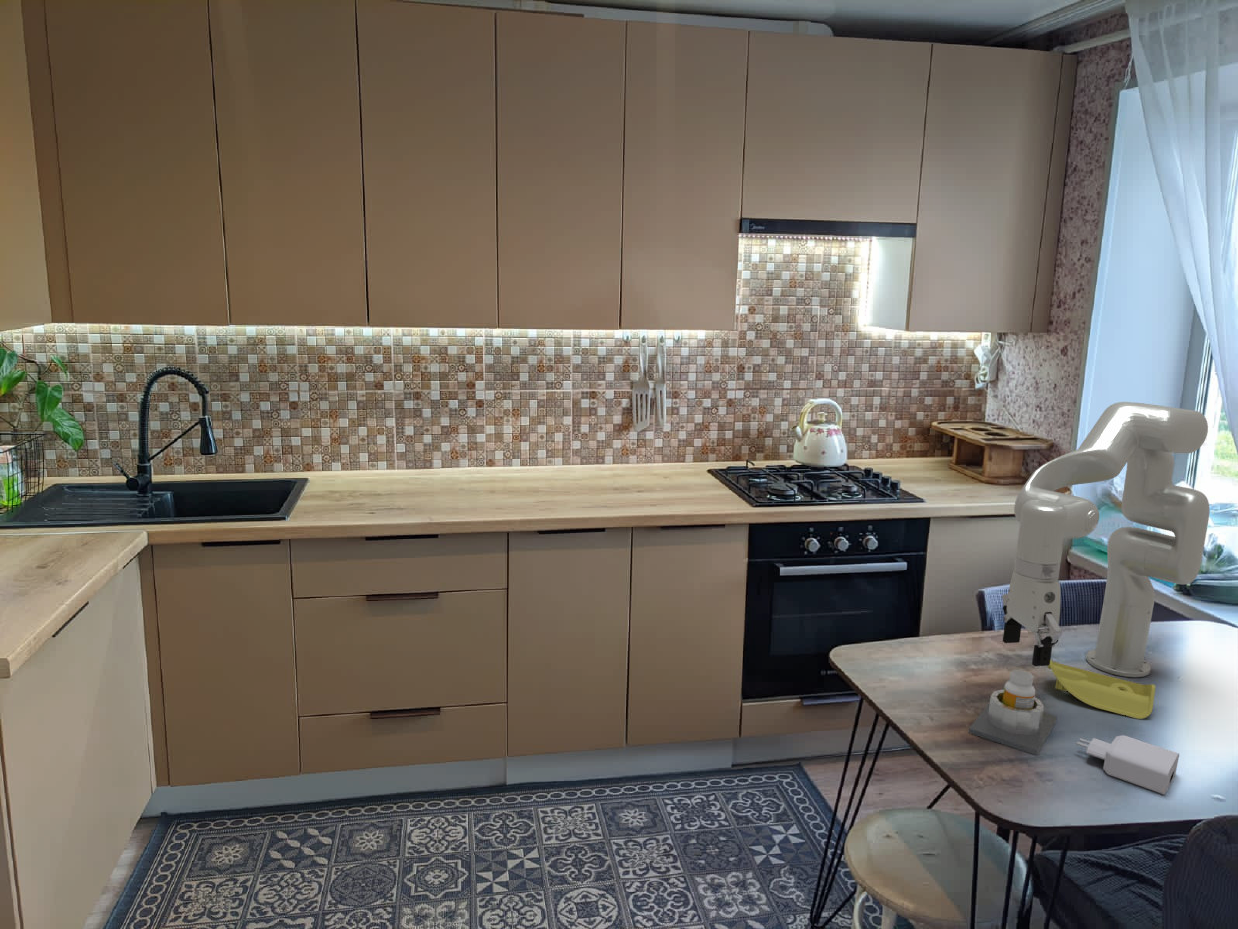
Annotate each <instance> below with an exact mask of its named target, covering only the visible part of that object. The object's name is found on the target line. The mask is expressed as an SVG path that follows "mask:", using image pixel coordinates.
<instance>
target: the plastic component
mask: <svg viewBox="0 0 1238 929" xmlns="http://www.w3.org/2000/svg"><path fill="white" fill-rule="evenodd" d="M1046 667H1047V668H1048V669H1049V670H1051V671H1052V673H1053V676H1054V677H1055V679H1056V682H1055V687H1054V688H1055V690H1059V691H1062V692H1066V691H1068V692H1067V693H1069V694H1071V695H1072V696H1073V697H1075V698H1076V699H1078V700H1079V701H1081V702H1083V703H1084V704H1086V705H1088V706H1091V707H1093V708H1096V709H1100V710H1104V711H1107V712H1111V713H1115V714H1118V715H1122V716H1125V715H1126V717H1130V718H1132V719H1133V718H1134V719H1137V720H1138V719H1139V720H1140V719H1141V720H1143V719H1146V718H1148V717H1149V716H1150V715H1151V714H1152V711H1153V708H1154V702H1155V701H1154V700H1155V695H1156V685H1155V684H1152V683H1150V684H1142V683H1137V682H1134V681H1131V680H1125V679H1121V678H1117V677H1113V676H1109V675H1107V674H1101V673H1098V672H1095V671H1090V670H1086V669H1082V668H1078V667H1074V666H1071V665H1067V664H1063V663H1060V662H1056V661H1052V659H1050V665H1048V666H1046Z"/></svg>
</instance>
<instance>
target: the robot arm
mask: <svg viewBox="0 0 1238 929" xmlns="http://www.w3.org/2000/svg"><path fill="white" fill-rule="evenodd" d="M1208 423H1209V422H1208V421H1207V418H1206V416H1205V415H1204V414H1203V413H1202V412H1200V411H1198V410H1192V409H1187V408H1186V409H1185V408H1179V407H1173V406H1171V407H1170V406H1163V405H1158V404H1153V403H1143V402H1142V403H1141V402H1130V401H1120V402H1115V403H1113V404H1112V403H1111V405H1108V406H1107V407H1106V409H1105V410H1104V411H1103V412H1102V414H1101V415H1100V417H1099V418H1098V419H1097V421H1096V422H1095V423H1094V425H1093V427H1092V428H1091V429H1090V431H1089V432H1088V434H1087V436H1086V437H1085V438H1084V440H1083V441H1082V443H1081V444H1080V446H1079V447H1078V448H1077V449H1075V450H1073V451H1071V452H1067V453H1065V454H1063V455H1060V456H1058V457H1056V458H1054V459H1052V460H1050V461H1047V462H1046V463H1044V464H1042V465H1040V466H1039V467H1038V468H1036V470H1034V471H1033V473H1032V474H1031V475H1030V476H1029V478H1028V479H1027V480H1026V482H1025V484H1024V485H1023V486H1022V488H1021V490H1020V491H1019V493H1018V495H1017V497H1016V500H1015V502H1014V507H1013V511H1014V516H1015V518H1016V520H1017V521H1018V522H1019V526H1018V527H1019V528H1018V537H1017V542H1016V543H1017V544H1016V551H1015V558H1014V567H1013V572H1012V576H1011V579H1010V582H1009V583H1010V584H1009V588H1008V593H1004V594H1002V595H1001V599H1002V605H1003V607H1002V610H1003V614H1004V616H1003V621H1004V626H1003V633H1002V634H1003V635H1002V642H1003V643H1004V644H1013V643H1015V644H1016V643H1020V640H1021V634H1022V627H1024V628H1025V629H1027V630H1028V631H1030V632H1032V633H1033V634H1034V638H1035V641H1036V644H1034V647H1033V652H1032V661H1031V664H1032V666H1034V667H1047V666H1048V665H1050V659H1051V658H1052V651H1053V648H1054V647H1055V645H1056V644H1058V643H1059V639H1060V638H1061V636H1062V634H1063V631H1062V629H1061V627H1060V625H1059V624H1060V617H1061V616H1060V615H1061V596H1062V595H1061V584H1060V583H1061V582H1060V580H1059V578H1060V571H1061V564H1062V555H1063V548H1064V541H1065V540H1071V539H1073V540H1074V539H1081V538H1084V537H1087V536H1089V535H1090V534H1091V533H1092V532H1093V531H1095V529H1096V528H1097V526H1098V525H1099V521H1100V511H1099V509H1098V506H1097V505H1096V504H1095V503H1094V502H1093V501H1092V500H1089V499H1086V498H1083V497H1081V496H1075V495H1071V494H1067V493H1062V492H1059V491H1057V490H1059V489H1062V488H1066V487H1070V486H1075V485H1077V486H1078V485H1085V484H1092V483H1100V482H1105V481H1109V480H1112V479H1114V478H1116V477H1117V476H1119V475H1120V473H1121V472H1122V470H1124V467H1125V466H1126V472H1125V479H1124V485H1123V491H1122V498H1121V499H1122V500H1121V514H1122V515H1123V517H1124V518H1125V519H1126V520H1128V521H1130V522H1133V523H1135V524H1140V525H1144V526H1147V527H1152V528H1156V529H1160V530H1163V531H1169V532H1172V533H1173V534H1174V536H1172V535H1168V534H1164V533H1161V532H1157V531H1152V530H1148V529H1145V528H1139V527H1133V526H1125V527H1124V526H1123V527H1120V528H1117V529H1115V530H1114V531H1113V532H1112V533H1111V534H1110V536H1109V538H1108V541H1107V549H1106V553H1107V573H1106V574H1107V575H1106V584H1105V590H1104V595H1103V596H1104V598H1103V604H1102V609H1101V615H1100V620H1099V627H1098V628H1099V629H1098V633H1097V639H1096V646H1095V648H1094V649H1091V650H1089V651H1088V652H1087V653H1086V656H1085V658H1086V661H1087V662H1088V663H1089V664H1090V665H1091V666H1092V667H1094V668H1096V669H1098V670H1100V671H1102V672H1106V673H1108V674H1111V675H1114V674H1115V676H1119V677H1120V676H1121V677H1125V678H1143V677H1146V676H1148V675H1149V674H1151V667H1152V666H1151V664H1150V663H1149V662H1147V661H1146V660H1145V656H1146V650H1147V644H1148V639H1149V638H1148V637H1149V632H1150V628H1151V622H1152V616H1153V610H1154V605H1155V598H1156V594H1155V589H1154V585H1153V584H1152V582H1151V580H1150V579H1151V578H1154V579H1157V580H1161V581H1163V582H1164V581H1165V582H1169V583H1172V584H1176V585H1189V584H1191V583H1193V582H1194V581H1195V579H1196V578H1197V577H1198V574H1199V572H1200V569H1201V565H1202V560H1203V556H1204V548H1205V542H1206V538H1207V531H1208V525H1209V521H1210V520H1209V518H1210V503H1209V499H1208V497H1207V496H1206V494H1204V493H1203V492H1202V491H1200V490H1197V489H1194V488H1190V487H1184V486H1180V485H1175V484H1174V483H1173V474H1174V469H1175V458H1174V455H1173V454H1192V453H1194V452H1196V451H1198V450H1199V449H1200V448H1201V447H1202V446H1203V445H1204V443H1205V441H1206V440H1207V436H1208V432H1209V429H1208V428H1209V426H1208V425H1209V424H1208ZM1042 634H1045V636H1046V637H1044V638H1043V636H1042ZM1051 660H1052V659H1051Z"/></svg>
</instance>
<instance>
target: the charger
mask: <svg viewBox="0 0 1238 929" xmlns="http://www.w3.org/2000/svg"><path fill="white" fill-rule="evenodd" d="M1079 741H1080V742H1079ZM1079 741H1077V742H1076V745H1078V746H1081V747H1084V748H1087V749H1086V754H1087V755H1089V756H1092V757H1095V758H1098V759H1100V760H1104V763H1103V770H1104V772H1105V773H1106V774H1107V775H1109V776H1111V777H1114V778H1117V779H1120V780H1122V781H1125V782H1128V783H1131V784H1132V785H1136V786H1139V787H1142V788H1144V789H1148V790H1150V791H1153V792H1155V793H1158V794H1161V795H1163V796H1165V795H1166V793H1167V791H1168V790H1169V788H1170V785H1171V784H1172V782H1173V780H1174V778H1175V777H1176V773H1177V768H1178V763H1179V759H1180V758H1179V757H1180V753H1178V752H1175V751H1172V750H1169V749H1165V748H1163V747H1160V746H1157V745H1155V744H1151V743H1148V742H1146V741H1142V740H1138V739H1136V738H1133V737H1130V736H1127V735H1124V734H1123V735H1117V736H1115V738H1114V739H1113V740H1112V742H1111V743H1109V742H1106V741H1103V740H1101V739H1097V738H1094V737H1093V738H1092V740H1090V741H1089V740H1086V739H1083V738H1079ZM1085 743H1086V744H1085Z"/></svg>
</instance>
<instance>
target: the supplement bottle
mask: <svg viewBox="0 0 1238 929" xmlns="http://www.w3.org/2000/svg"><path fill="white" fill-rule="evenodd" d="M1033 682H1034V675H1033V674H1032V673H1031V672H1029V671H1026V670H1021V669H1013V670H1011V671H1010V673H1009V680H1007V681H1006V682H1005V684H1004V687H1003V689H1004V694H1003V701H1002V703H1003V704H1004V705H1006V706H1008V707H1012V708H1015V709H1020V710H1031V709H1033V705H1034V698H1036V689H1035V687H1034V685H1033Z"/></svg>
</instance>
